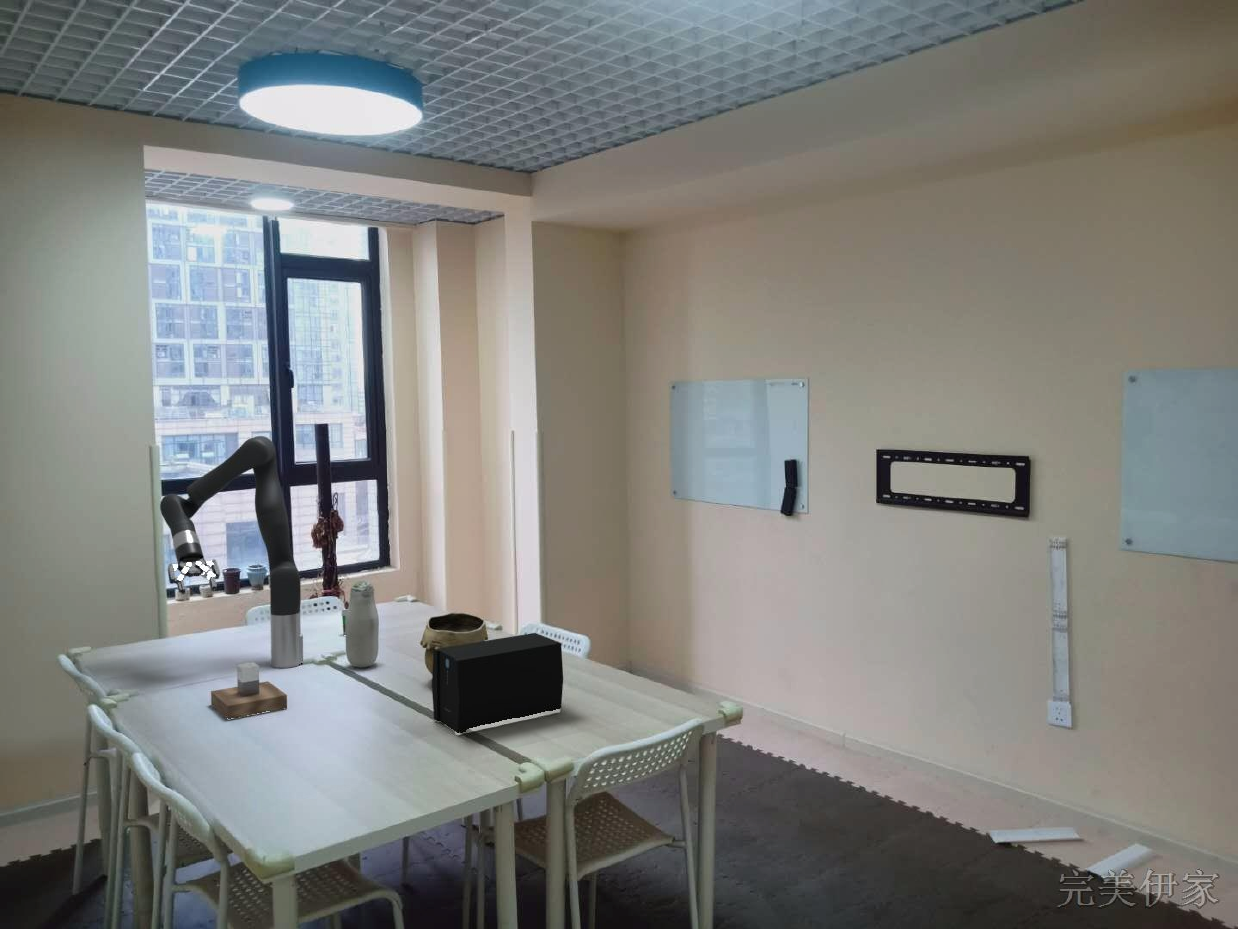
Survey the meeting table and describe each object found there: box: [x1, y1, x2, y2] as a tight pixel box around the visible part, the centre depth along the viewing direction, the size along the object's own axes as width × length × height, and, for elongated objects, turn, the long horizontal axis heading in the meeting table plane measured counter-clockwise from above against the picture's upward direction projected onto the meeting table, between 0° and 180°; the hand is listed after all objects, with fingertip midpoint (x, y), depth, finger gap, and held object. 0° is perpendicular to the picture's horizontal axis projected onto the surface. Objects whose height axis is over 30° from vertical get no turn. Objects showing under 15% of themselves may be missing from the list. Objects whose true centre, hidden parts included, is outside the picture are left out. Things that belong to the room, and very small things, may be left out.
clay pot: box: [419, 612, 489, 675], centre depth 293 cm, size 21×21×20 cm
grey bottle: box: [345, 580, 380, 668], centre depth 309 cm, size 10×10×28 cm
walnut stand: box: [210, 680, 288, 719], centre depth 269 cm, size 16×16×4 cm
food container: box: [341, 609, 348, 636], centre depth 352 cm, size 12×6×10 cm, turn 168°
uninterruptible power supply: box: [431, 632, 564, 733], centre depth 263 cm, size 16×34×20 cm, turn 126°
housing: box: [236, 661, 260, 697], centre depth 268 cm, size 5×5×8 cm
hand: (198, 591), depth 288 cm, fingers open, 8 cm apart
